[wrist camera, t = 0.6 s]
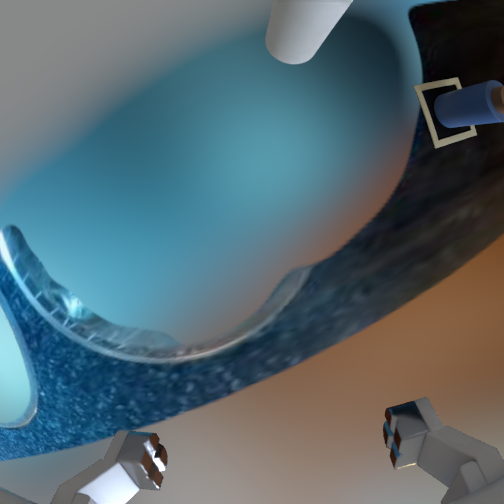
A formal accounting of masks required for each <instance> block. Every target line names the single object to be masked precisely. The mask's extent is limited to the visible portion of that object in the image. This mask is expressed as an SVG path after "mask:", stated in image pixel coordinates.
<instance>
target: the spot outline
mask: <svg viewBox="0 0 504 504" xmlns="http://www.w3.org/2000/svg"><path fill="white" fill-rule="evenodd" d="M453 84H455V85H456V87H457V90H459V89H462V88H461V85H460V82H459V80H458V77H457V78H451V79H446V80H440V81H435V82H430V83H425V84H420V85H415V86H414V89H415V91H416V94H417V97H418V99H419V102H420V105H421V107H422V110H423V113H424V116H425V119H426V121H427V124H428V127H429V130H430V134H431V137H432V140H433V143H434V146H435V148H438V147H441V146H444V145H447V144H450V143H453V142H456V141H459V140H462V139H466V138H469V137H472V136H475V135H477V133H476V130H475V126H474V125H469V126H470V129H471V130H470V131H467V132H464V133H460V134H457V135H454V136H451V137H447V138H444V139H441V140H438V137H437V134H436V131H435V128H434V125H433V122H432V119H431V116H430V113H429V110H428V107H427V105H426V102H425V99H424V97H423V94H422V91H423V90H428V89H432V88H437V87H442V86H447V85H453Z"/></svg>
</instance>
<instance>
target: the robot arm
mask: <svg viewBox="0 0 504 504" xmlns="http://www.w3.org/2000/svg"><path fill="white" fill-rule="evenodd" d="M385 417H386V420H387V421H386V422H385V423H384V425H383V436H384V440H385V444H386V447H387V448H389V449H391V452H390V459H391V462H392V464H393V467H394V469H398V468H403V467H406V466H410V465H413V464H417V465H418V466H419V467H421V468H422V469H423V470H425V471H426V472H427V473H429V474H430V475H432V476H433V477H434V478H436V479H437V480H439V481H440V482H442V483H443V484H444V485H446V486H447V487H449V489H448V490H447V492H446V494H445V496H444V497H443V499H442V501H441V504H504V460H503V458H502V457H501V455H500V453H499V452H498V450H497V448H495V447H493V446H491V445H488V444H486V443H484V442H481V441H479V440H477V439H475V438H473V437H471V436H468V435H466V434H464V433H462V432H460V431H458V430H456V429H454V428H451V427H449V426H446V427H444V426H443V424H442V422H441V420H440V418H439V417H438V415H437V413H436V411H435V410H434V408H433V406H432V404H431V403H430V401H429V399H428V398H426V397H424V398H421V399H418V400H414V401H411V402H407V403H404V404H400V405H397V406H393V407H390V408H387V409H386V411H385ZM166 466H167V452H166V450H165V448H164V446H163V445H161V444H159V437H158V435H157V434H156V433H148V432H136V431H124V430H119V431H118V432H116V434H115V436H114V438H113V441H112V442H111V445H110V447H109V449H108V451H107V453H106V455H105V457H104V460H103V459H100V460H98V461H97V462H96V463H94V464H92V465H91V466H90V467H88V468H86V469H85V470H83V471H82V472H80V473H79V474H77V475H76V476H74V477H73V478H71V479H70V480H68V481H67V482H65V483H63V484H62V485H60V486H59V488H58V490H57V492H56V493H55V495H54V497H53V499H52V501H51V503H50V504H125V503H126V502H127V501H128V500H129V499H131V498H132V496H134V495H135V494H136V493H137V492H138V491H139V489H149V490H160V487H161V484H162V480H163V476H162V474H161V472H162V471H163V470H165V469H166ZM0 504H36V503H34V502H32V501H29V500H27V499H25V498H22V497H20V496H18V495H16V494H14V493H12V492H10V491H8V490H5V489H4V488H2V487H0Z"/></svg>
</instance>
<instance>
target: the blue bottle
mask: <svg viewBox="0 0 504 504" xmlns="http://www.w3.org/2000/svg"><path fill="white" fill-rule="evenodd" d="M434 110H435V114H436V117H437V118H438V120H439V121H440V123H441V124H442V125H444V126H446V127H448V128H454V127H461V126H469V125H478V124H486V123H496V122H504V86H503V85H502V84H501V83H499V82H498V81H495V80H492V81H488V82H484V83H480V84H476V85H473V86H469V87H466V88H462V89H459V90H455V91H452V92H448V93H445V94H442V95H439V96H438V97H437V98H436V100H435V103H434Z"/></svg>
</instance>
